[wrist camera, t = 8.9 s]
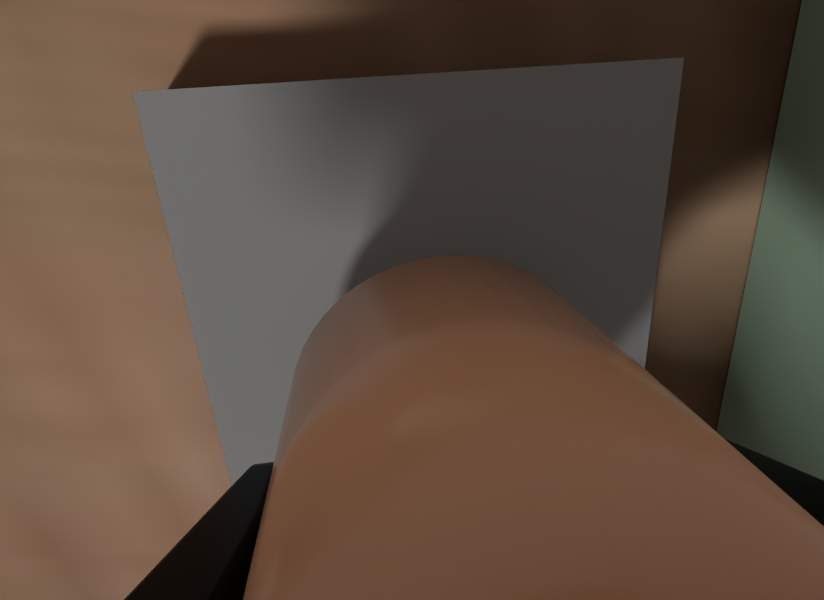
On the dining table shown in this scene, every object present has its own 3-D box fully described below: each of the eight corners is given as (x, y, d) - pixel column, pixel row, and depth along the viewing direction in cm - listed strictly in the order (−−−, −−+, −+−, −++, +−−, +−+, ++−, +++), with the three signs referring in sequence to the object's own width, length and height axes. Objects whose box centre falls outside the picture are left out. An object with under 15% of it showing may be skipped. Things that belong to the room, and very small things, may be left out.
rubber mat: (598, 497, 15) (623, 536, 14) (266, 542, 14) (257, 589, 13) (641, 64, 11) (684, 56, 9) (163, 94, 10) (131, 91, 8)
